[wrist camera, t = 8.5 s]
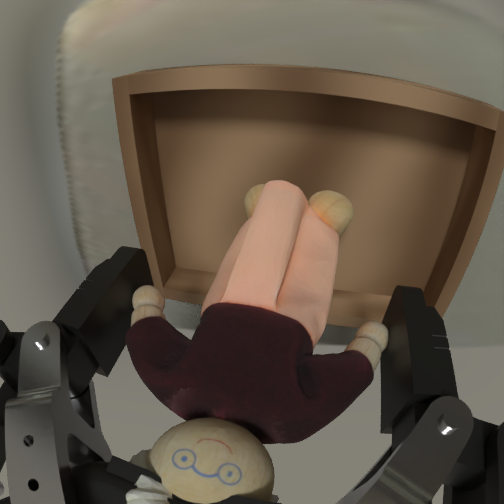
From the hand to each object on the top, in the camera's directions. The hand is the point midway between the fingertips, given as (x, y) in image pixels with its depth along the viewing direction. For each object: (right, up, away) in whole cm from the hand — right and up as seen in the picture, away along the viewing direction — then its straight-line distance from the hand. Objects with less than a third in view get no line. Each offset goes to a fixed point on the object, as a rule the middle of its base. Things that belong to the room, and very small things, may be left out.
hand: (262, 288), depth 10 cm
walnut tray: (+2, +4, +5) cm, 7 cm away
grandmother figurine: (+1, +3, +4) cm, 5 cm away
